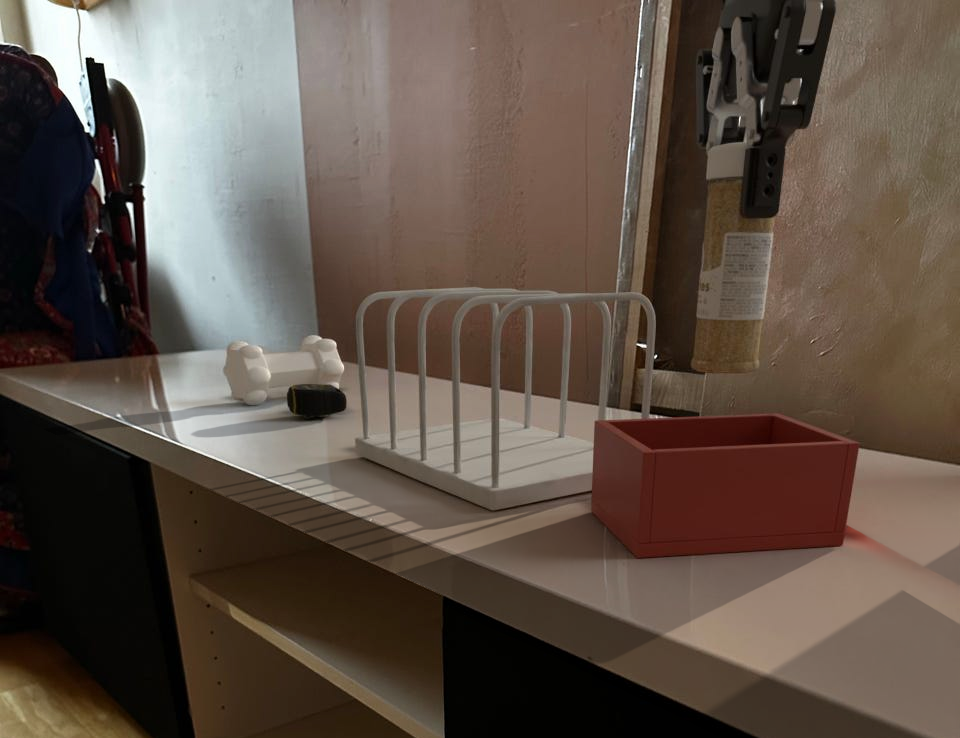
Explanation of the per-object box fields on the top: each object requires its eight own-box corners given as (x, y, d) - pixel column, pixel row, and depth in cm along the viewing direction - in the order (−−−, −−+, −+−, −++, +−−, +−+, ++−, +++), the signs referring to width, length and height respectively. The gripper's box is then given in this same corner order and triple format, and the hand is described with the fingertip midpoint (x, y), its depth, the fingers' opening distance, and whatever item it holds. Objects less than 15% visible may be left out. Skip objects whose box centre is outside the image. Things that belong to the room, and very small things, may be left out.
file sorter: (354, 457, 87) (342, 289, 81) (498, 436, 95) (497, 283, 89) (492, 512, 68) (491, 298, 61) (657, 481, 76) (670, 290, 70)
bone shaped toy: (317, 390, 130) (312, 333, 126) (349, 396, 124) (345, 336, 120) (224, 402, 121) (216, 340, 117) (254, 409, 115) (247, 344, 111)
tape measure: (349, 419, 107) (347, 387, 105) (293, 423, 105) (290, 391, 103) (337, 410, 113) (335, 381, 111) (284, 414, 111) (281, 384, 109)
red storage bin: (767, 501, 70) (778, 413, 67) (843, 545, 59) (860, 442, 56) (590, 511, 68) (594, 420, 65) (636, 558, 57) (643, 452, 54)
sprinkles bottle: (686, 366, 61) (703, 149, 56) (752, 366, 61) (776, 147, 55) (695, 375, 57) (714, 141, 51) (766, 375, 57) (793, 138, 51)
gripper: (912, -176, 42) (855, 215, 49) (778, -75, 55) (748, 223, 62) (766, -183, 41) (729, 216, 48) (664, -79, 54) (647, 224, 61)
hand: (740, 218), depth 55 cm, fingers closed on sprinkles bottle, 4 cm apart
